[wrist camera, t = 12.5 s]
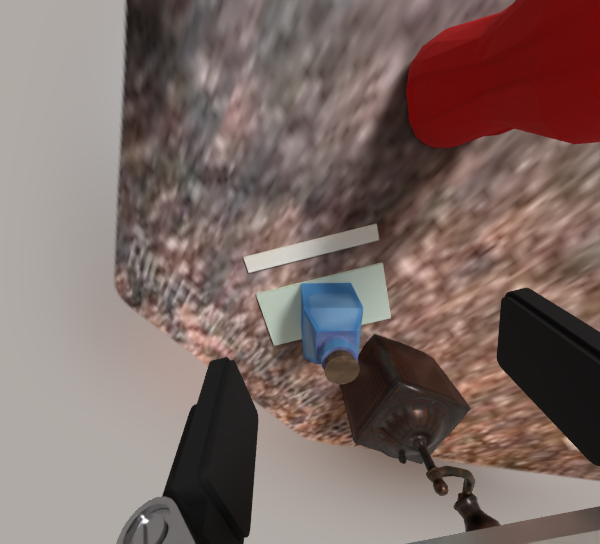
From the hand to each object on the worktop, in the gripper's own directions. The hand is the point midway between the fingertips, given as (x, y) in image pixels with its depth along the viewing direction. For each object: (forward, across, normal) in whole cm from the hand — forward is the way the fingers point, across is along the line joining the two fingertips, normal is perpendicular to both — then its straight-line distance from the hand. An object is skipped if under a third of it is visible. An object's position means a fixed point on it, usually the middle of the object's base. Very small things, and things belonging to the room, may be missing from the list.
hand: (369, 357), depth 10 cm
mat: (+24, +1, +13) cm, 27 cm away
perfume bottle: (+24, +1, +13) cm, 27 cm away
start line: (+24, +1, +5) cm, 25 cm away
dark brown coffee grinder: (+24, -7, +28) cm, 37 cm away
